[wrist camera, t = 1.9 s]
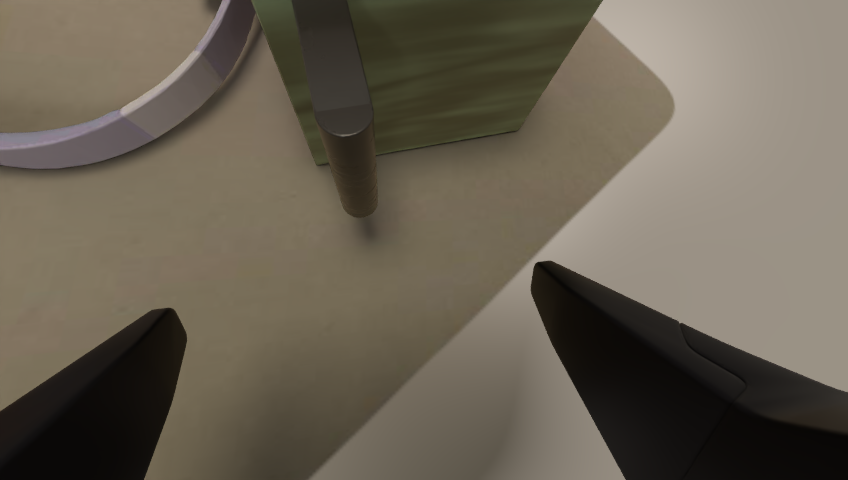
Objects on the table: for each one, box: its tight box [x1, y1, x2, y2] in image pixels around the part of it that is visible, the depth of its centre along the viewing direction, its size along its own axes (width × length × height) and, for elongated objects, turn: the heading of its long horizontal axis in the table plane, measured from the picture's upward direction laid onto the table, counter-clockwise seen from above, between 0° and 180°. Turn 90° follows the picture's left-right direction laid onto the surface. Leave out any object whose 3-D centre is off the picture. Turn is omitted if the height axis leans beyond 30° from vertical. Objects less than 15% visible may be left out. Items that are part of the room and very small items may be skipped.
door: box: [251, 0, 603, 218], centre depth 16 cm, size 6×13×14 cm, turn 104°
